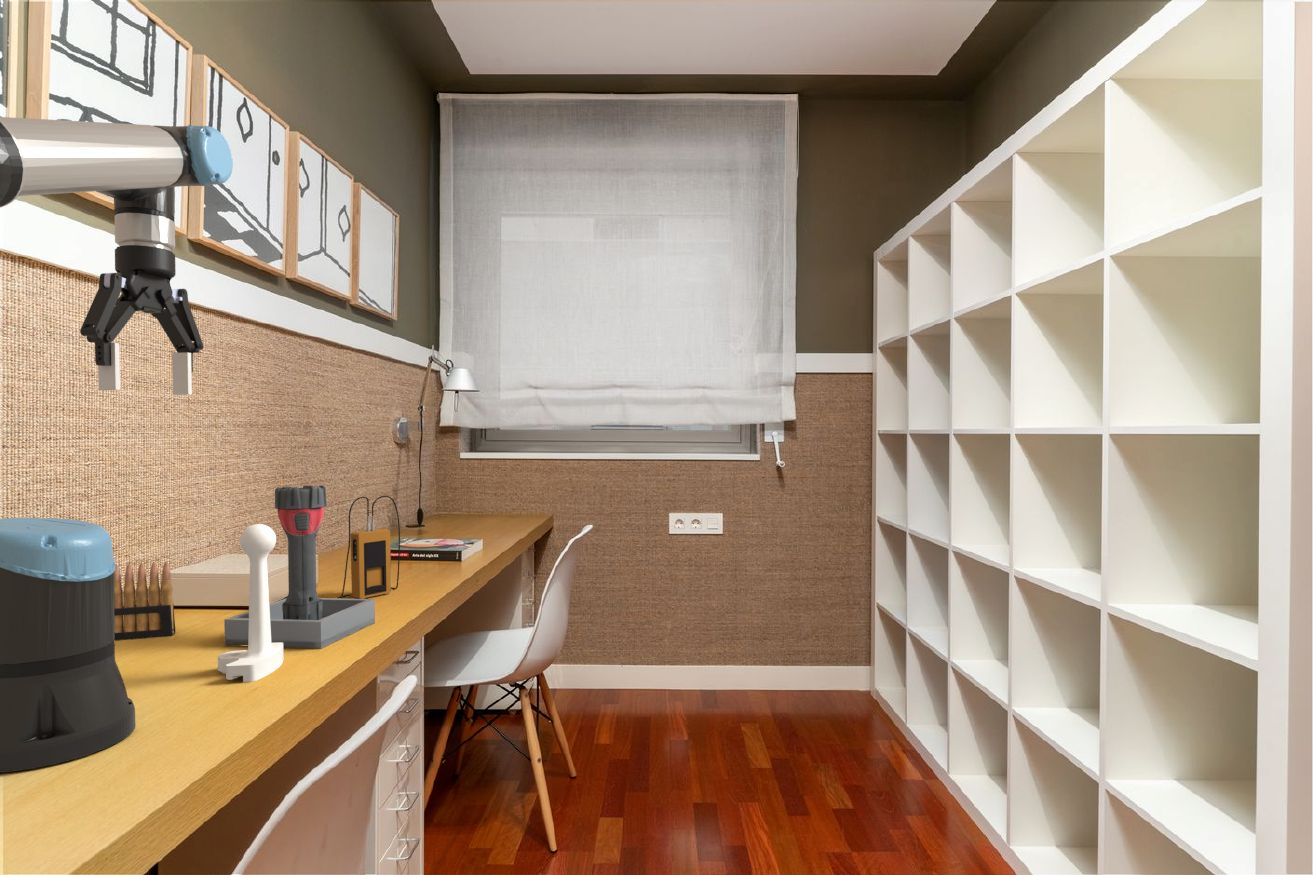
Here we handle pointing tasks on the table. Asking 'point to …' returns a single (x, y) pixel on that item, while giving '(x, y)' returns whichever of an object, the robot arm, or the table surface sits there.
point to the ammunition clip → (143, 604)
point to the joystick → (255, 614)
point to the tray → (308, 624)
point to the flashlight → (301, 547)
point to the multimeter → (370, 559)
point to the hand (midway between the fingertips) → (147, 392)
